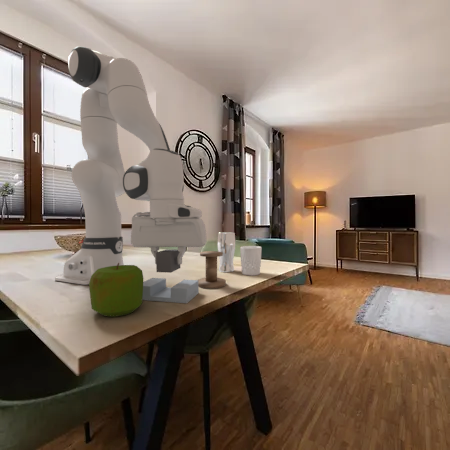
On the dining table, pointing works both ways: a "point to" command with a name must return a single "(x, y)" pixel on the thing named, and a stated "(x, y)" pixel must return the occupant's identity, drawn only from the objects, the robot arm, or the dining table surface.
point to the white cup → (250, 260)
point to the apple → (116, 290)
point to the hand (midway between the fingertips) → (168, 264)
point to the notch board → (169, 290)
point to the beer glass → (226, 251)
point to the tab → (166, 261)
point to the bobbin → (211, 271)
